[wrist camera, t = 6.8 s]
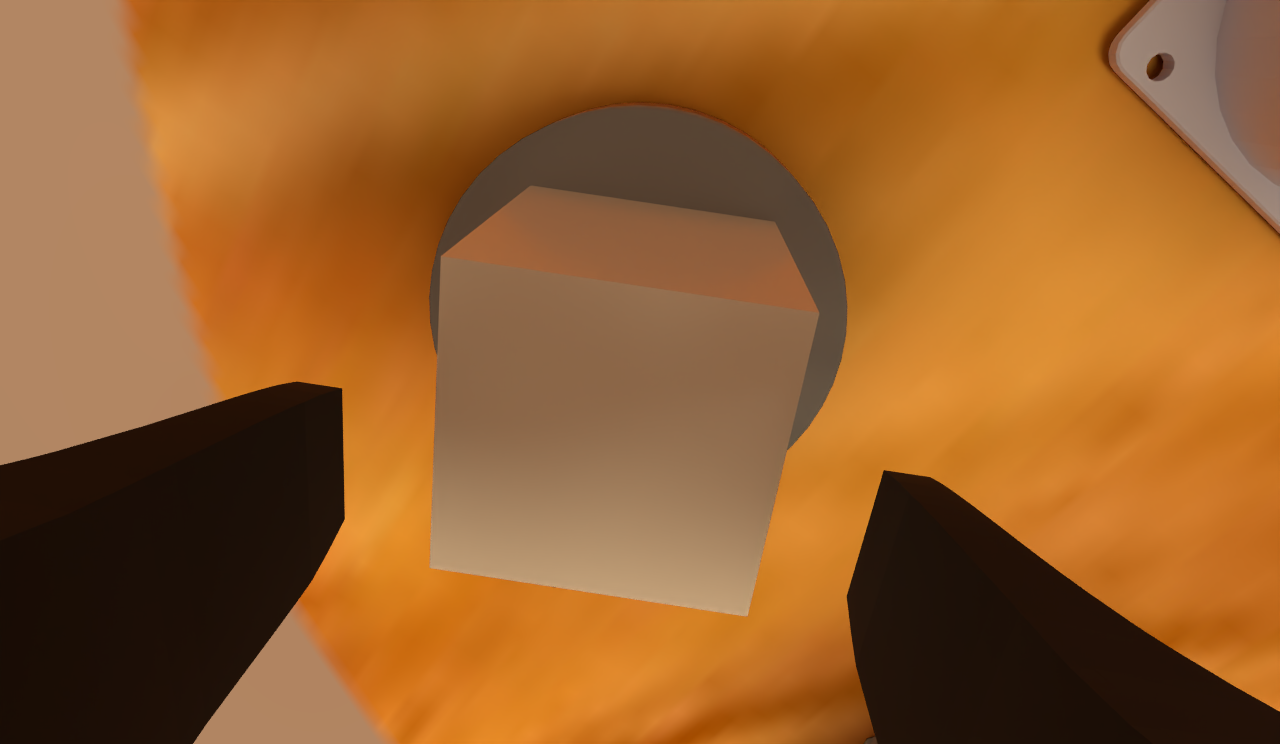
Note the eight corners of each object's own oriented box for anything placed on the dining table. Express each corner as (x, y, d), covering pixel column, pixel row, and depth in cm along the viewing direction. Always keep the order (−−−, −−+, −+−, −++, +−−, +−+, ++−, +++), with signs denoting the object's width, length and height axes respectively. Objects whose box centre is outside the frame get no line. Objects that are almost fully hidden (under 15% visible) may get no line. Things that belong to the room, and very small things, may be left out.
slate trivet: (913, 272, 18) (938, 298, 16) (670, 525, 21) (667, 571, 19) (603, 10, 16) (591, 4, 14) (387, 326, 19) (354, 355, 17)
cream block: (774, 221, 16) (819, 312, 10) (730, 438, 17) (747, 616, 12) (530, 185, 16) (441, 255, 10) (513, 406, 18) (430, 567, 12)
